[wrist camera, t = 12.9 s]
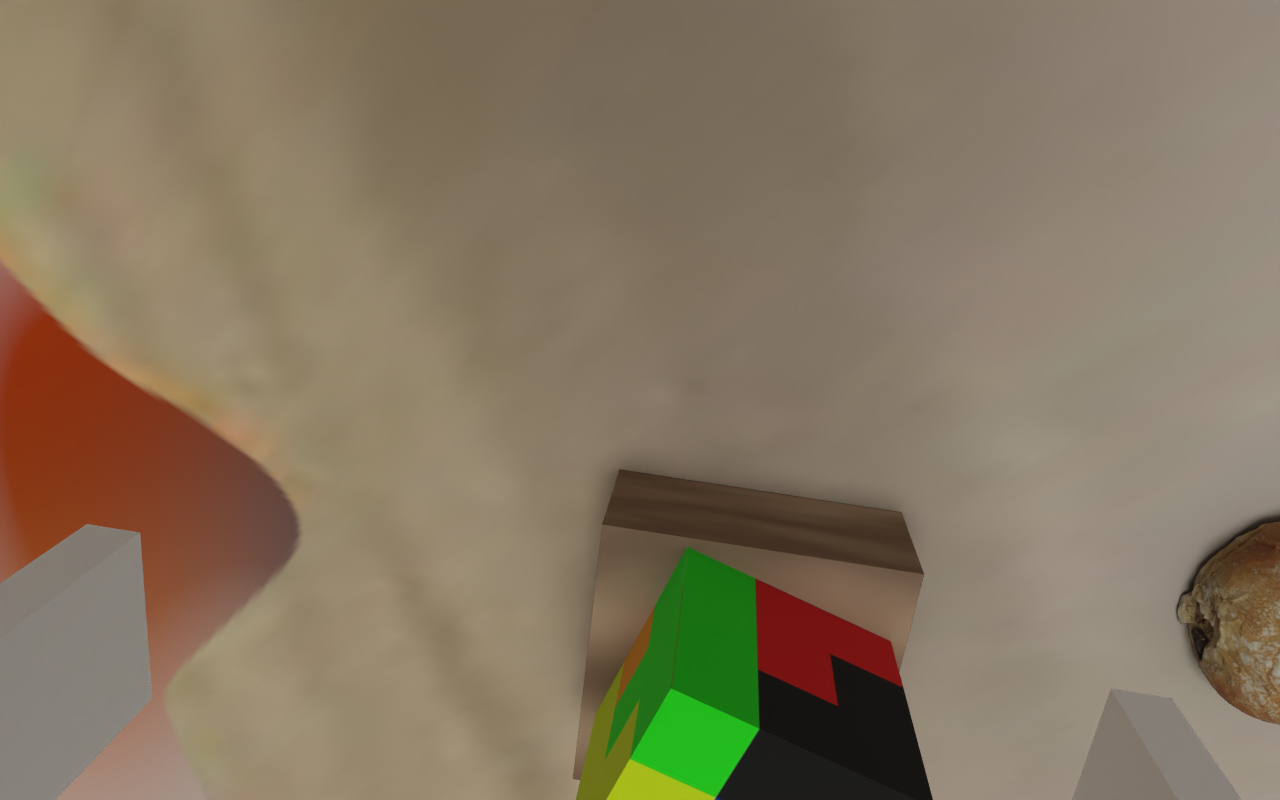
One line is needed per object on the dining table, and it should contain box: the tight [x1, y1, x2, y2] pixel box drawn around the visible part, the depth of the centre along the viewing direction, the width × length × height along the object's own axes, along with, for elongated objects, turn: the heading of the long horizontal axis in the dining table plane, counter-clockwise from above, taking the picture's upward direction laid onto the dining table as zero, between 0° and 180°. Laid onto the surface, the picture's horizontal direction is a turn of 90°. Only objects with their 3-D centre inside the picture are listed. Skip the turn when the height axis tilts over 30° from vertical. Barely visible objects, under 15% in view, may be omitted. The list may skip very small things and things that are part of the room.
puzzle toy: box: [576, 547, 933, 800], centre depth 38 cm, size 10×10×10 cm
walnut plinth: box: [573, 470, 924, 780], centre depth 45 cm, size 14×14×6 cm
